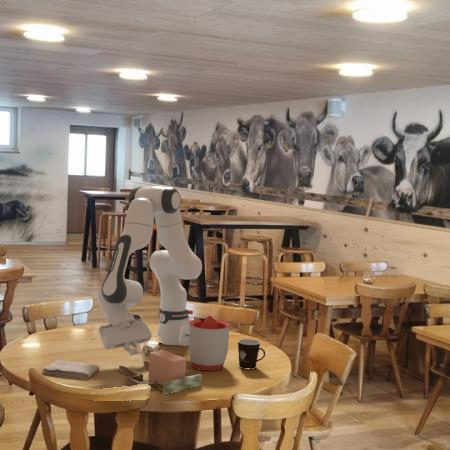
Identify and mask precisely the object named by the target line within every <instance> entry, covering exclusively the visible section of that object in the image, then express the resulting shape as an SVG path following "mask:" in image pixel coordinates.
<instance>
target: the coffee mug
mask: <svg viewBox="0 0 450 450" xmlns="http://www.w3.org/2000/svg"><path fill="white" fill-rule="evenodd" d="M260 346H261V341H259V340H257V339H255V338H254V339H253V338H241V339H238V340H237V348H238V349H237V350H238V351H237V353H238V364H239V365H238V366H240V367H242V368H250V369H251V370H253V369H252V368H255V367H256V368H257V363H258V362H259V361H262V360H263V359H264V358H265V357H266V351H265V349H263V347H260ZM259 351H262V353H263V356H262V357H261V358H259V359H258V357H259ZM240 367H239V368H240ZM242 368H241V369H242ZM256 368H255V369H256Z"/></svg>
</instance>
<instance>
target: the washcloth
mask: <svg viewBox="0 0 450 450" xmlns="http://www.w3.org/2000/svg"><path fill="white" fill-rule="evenodd" d="M99 370H100V366H99V365H98V364H92V363H86V362H78V361H70V360H61V359H56V360H54V361H52V362H51V363H50V364H48V365H46V366H45V367H43V368H42V373H43V374H46V375H50V376H57V377H66V378H73V379H74V378H75V379H81V380H87V379H90V378H91V377H92V375H94V374H96V373H98V371H99Z"/></svg>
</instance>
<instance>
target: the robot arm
mask: <svg viewBox="0 0 450 450" xmlns="http://www.w3.org/2000/svg"><path fill="white" fill-rule="evenodd" d="M181 201H182V198H181V194H180V192H179V190H178V189H176V188H174V187H171V186H159V185H157V186H156V185H153V186H144V187H143V186H139V187H134V188H133V189H132V190H131V191H130V192H129V194H128V199H127V202H128V209H127V212H126V215H125V221H124V226H123V231H122V234H121V235H120V236H119V238H118V239H117V240H116V243H115V246H114V249H113V251H112V252H113V253H112V257H111V260H110V264H109V268H108V271H107V274H106V276H105V278H104V280H103V282H102V285H101V286H100V287H99V288H98V290H97V291H96V298H97V299H96V300H97V303H98V305H99V308H100V310H101V312H102V314H103V315H104V316H105V321H106V323H107V324H106V325H100V327H99V328H98V333H99V335H100V339H101V342H102V346H103V348H104V349H106V350H107V351H108V350H112V349H118V348H123V349H124V350H125V351H126V352H128V353H129V356H135V355H138V354H139V349H138V344H143V343H148V342H149V341H150V340H151V339H152V335H153V333H152V332H151V330H150V327H149V326H148V324H147V323H146V322H145V321H144V320H143V319H144V318H143V316H142V315H141V314H135V313H131V312H129V310H128V309H130V308H133V307H134V306H136V305H138V304H140V302H141V301H142V300H143V297H144V287H143V285H142V284H141V283H140V282H138V281H136V280H132V279H127V278H125V275H126V270H127V266H128V262H129V258H130V256H131V255H132V253H133V252H135V251H136V250H141V249H143V248H145V247H146V246H148V244H150V241H151V239H152V236H153V229H154V224H155V226H156V227H155V228H156V233H157V238H158V239H157V240H158V243H159V244H160V245H161V246H162V247H163V248H165V249H161V250H155V251H153V253H152V254H151V256H150V257H149V263H148V264H149V268H150V270H151V271H152V272H153V273H154V274H155V277H156V279H157V282H158V285H159V289H160V306H159V310H158V319H159V320H158V321H159V322H158V325H157V326H158V328H157V332H156V336H160V338H161V340H162V344H161V345H165V346H181V347H187V346H189V331H190V324H189V322H190V321H192V320H193V319H191V318H190V317H189V316H190V315H191V316H192V315H193V314H194V312H195V311H194V310H192V309H188V308H187V297H188V295H187V294H188V293H187V290H186V288H184V287H183V285H182V284H181V282H180V279H182V280H194V279H195V280H196V279H197V278H198V277H200V275H201V274H202V271H203V263H202V260H201V259H200V258H199V257H198V256H197V255H196V254H195V253H194V251H193V250H192V249H191V248H190V246H189V243H188V241H187V239H186V236H185V231H184V225H183V218H182V214H181V210H180V206H181ZM154 222H155V223H154ZM156 336H155V337H156Z"/></svg>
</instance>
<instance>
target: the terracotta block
mask: <svg viewBox="0 0 450 450" xmlns="http://www.w3.org/2000/svg"><path fill="white" fill-rule="evenodd" d="M148 361H149V368H148V377H147V379H149V380H148V381H150V380H151V381H150V382H152V381H153V382H154V381H161V382H167V381H171V380H175V379H180V378H184V377H185V375H186V370H187V358H186V357H183V356H179V355H177V354H175V353H173V352H169V351H167V350H164V349H160V350H156V351H155V350H154V351H150V352H149V357H148Z"/></svg>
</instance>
